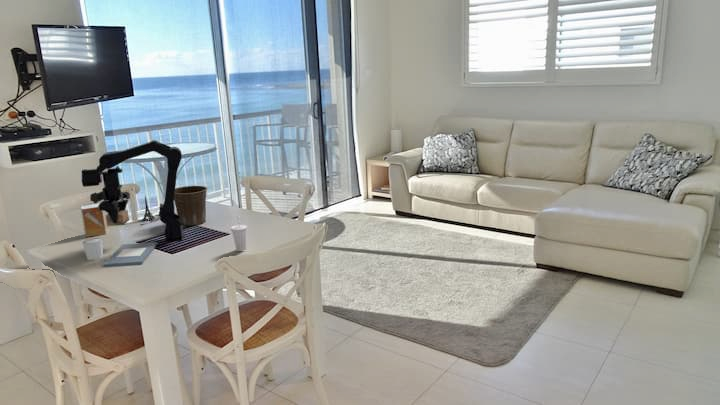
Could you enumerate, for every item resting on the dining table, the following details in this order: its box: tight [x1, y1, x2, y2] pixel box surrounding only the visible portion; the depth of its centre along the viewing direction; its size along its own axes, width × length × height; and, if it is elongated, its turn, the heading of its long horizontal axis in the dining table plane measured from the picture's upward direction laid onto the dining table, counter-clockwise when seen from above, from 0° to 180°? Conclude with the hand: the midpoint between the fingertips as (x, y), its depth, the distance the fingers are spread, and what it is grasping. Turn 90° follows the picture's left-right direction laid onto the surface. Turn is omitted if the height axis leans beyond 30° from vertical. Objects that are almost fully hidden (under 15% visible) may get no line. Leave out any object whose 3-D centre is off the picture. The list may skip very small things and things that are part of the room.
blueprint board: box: [102, 241, 158, 267], centre depth 205 cm, size 14×22×1 cm, turn 6°
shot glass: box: [82, 237, 104, 261], centre depth 203 cm, size 7×7×7 cm
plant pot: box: [174, 185, 208, 227], centre depth 243 cm, size 16×16×16 cm
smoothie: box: [230, 215, 248, 252], centre depth 205 cm, size 6×6×14 cm
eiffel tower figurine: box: [139, 195, 161, 226], centre depth 250 cm, size 15×10×13 cm
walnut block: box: [105, 209, 130, 227], centre depth 214 cm, size 7×7×4 cm
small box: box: [79, 202, 107, 238], centre depth 231 cm, size 8×6×13 cm
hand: (118, 220), depth 214 cm, fingers closed on walnut block, 7 cm apart
